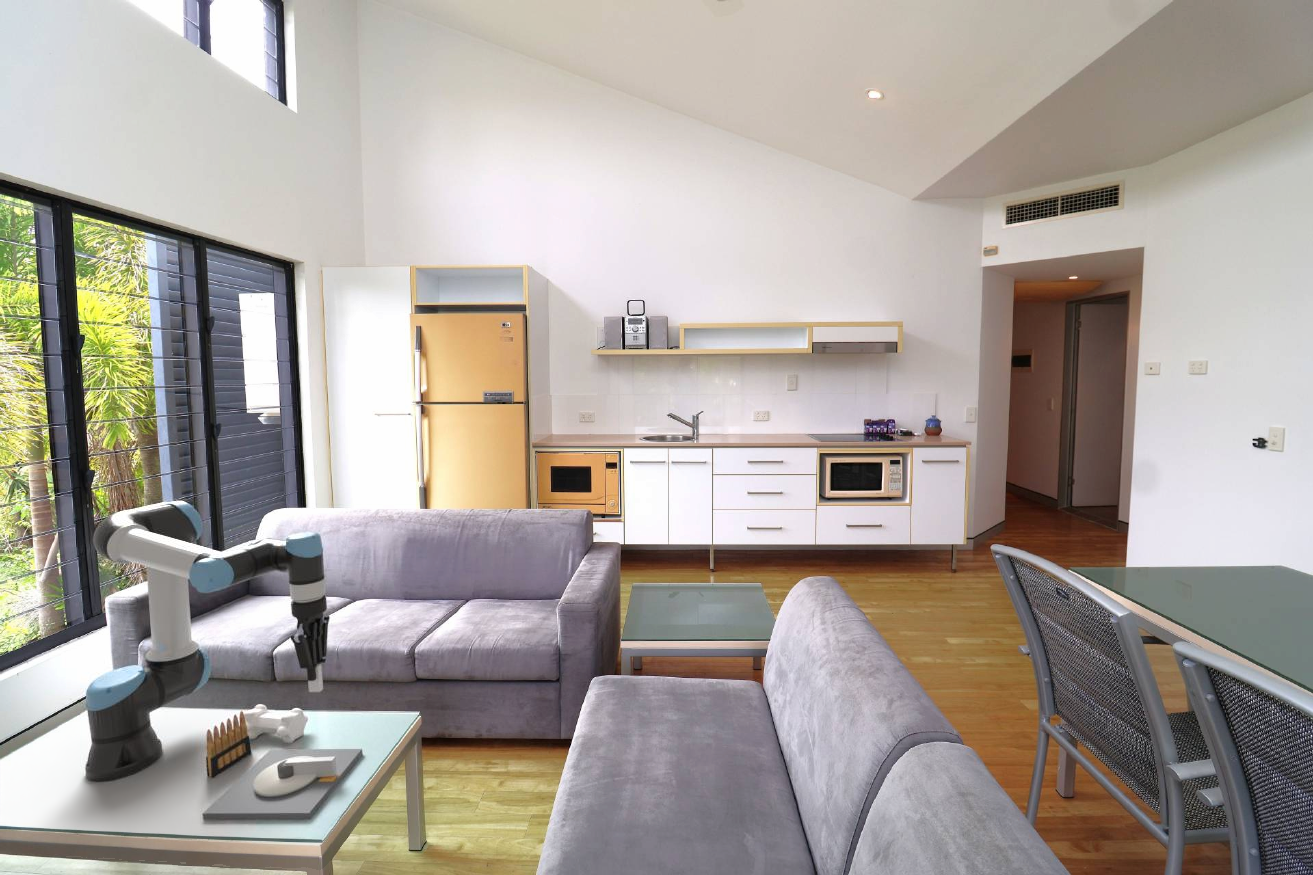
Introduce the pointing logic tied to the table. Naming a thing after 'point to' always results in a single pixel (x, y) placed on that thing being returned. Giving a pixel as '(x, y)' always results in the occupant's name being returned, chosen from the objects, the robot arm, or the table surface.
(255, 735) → the white bone
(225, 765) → the ammunition clip
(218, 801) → the dial base
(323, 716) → the table surface
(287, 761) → the dial
